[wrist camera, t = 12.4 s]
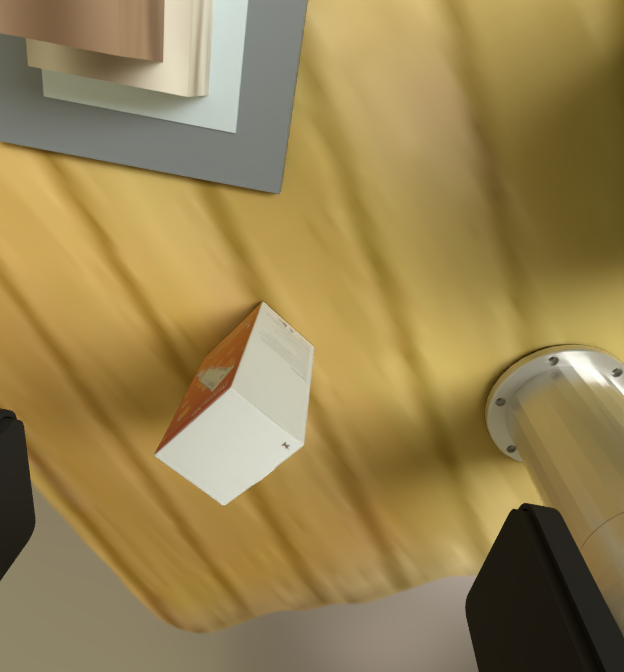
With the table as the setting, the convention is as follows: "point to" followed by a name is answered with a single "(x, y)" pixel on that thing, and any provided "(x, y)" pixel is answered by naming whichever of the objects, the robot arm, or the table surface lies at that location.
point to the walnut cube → (90, 24)
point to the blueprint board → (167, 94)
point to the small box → (242, 408)
